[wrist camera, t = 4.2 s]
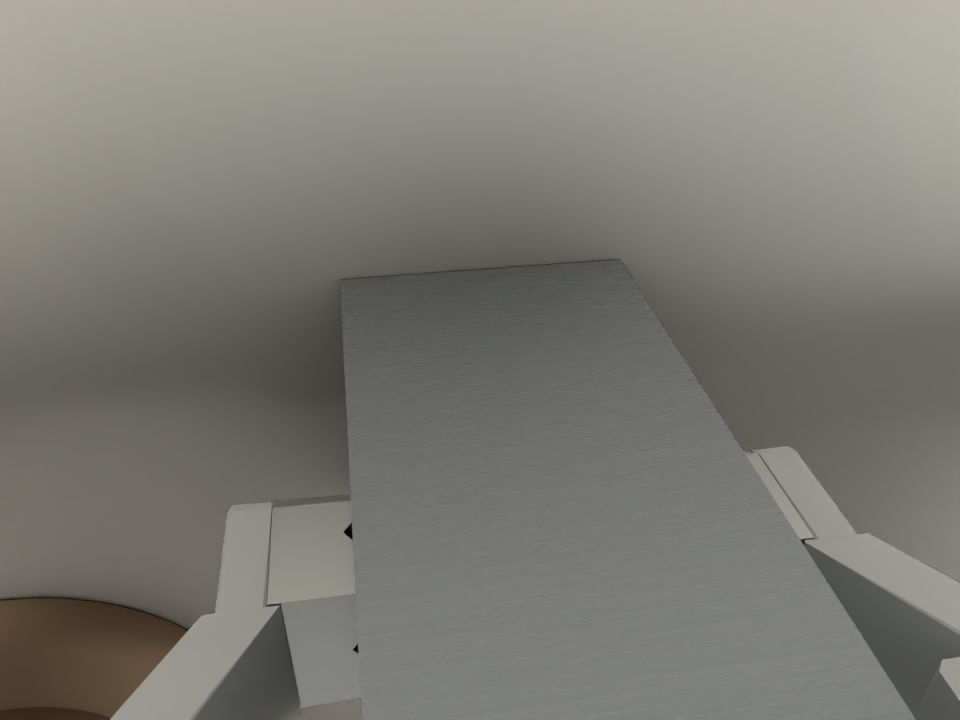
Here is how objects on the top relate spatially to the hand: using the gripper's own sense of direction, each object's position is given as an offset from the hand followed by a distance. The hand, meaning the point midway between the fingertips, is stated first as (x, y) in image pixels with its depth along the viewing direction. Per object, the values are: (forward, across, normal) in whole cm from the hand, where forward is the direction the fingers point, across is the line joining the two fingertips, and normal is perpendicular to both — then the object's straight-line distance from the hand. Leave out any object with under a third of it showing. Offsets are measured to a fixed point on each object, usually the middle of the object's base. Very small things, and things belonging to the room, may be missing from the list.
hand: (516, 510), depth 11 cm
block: (+3, 0, 0) cm, 3 cm away
